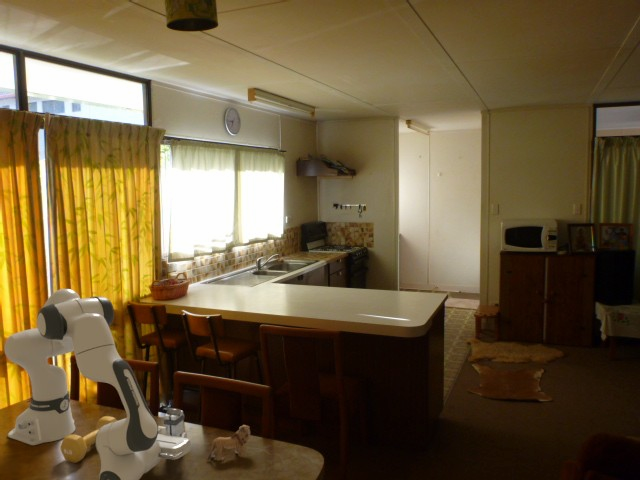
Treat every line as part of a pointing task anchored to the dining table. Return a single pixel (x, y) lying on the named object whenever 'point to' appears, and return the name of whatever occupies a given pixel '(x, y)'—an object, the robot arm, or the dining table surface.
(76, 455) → the dumbbell
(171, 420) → the white gray rectangular canister
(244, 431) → the lion figurine
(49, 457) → the dining table surface
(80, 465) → the dining table surface
